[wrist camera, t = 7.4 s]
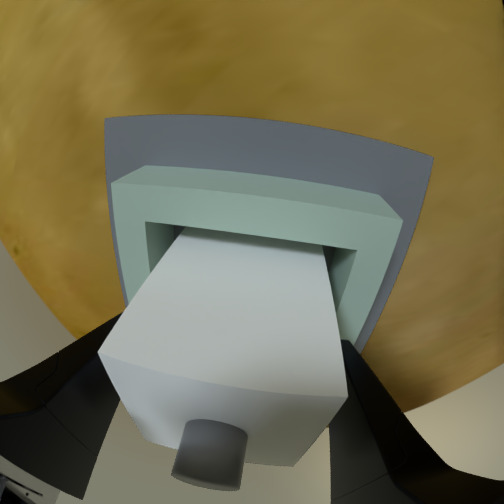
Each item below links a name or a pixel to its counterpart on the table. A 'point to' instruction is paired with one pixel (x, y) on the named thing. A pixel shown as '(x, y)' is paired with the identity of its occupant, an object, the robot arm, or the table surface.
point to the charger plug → (230, 354)
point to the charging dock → (266, 198)
